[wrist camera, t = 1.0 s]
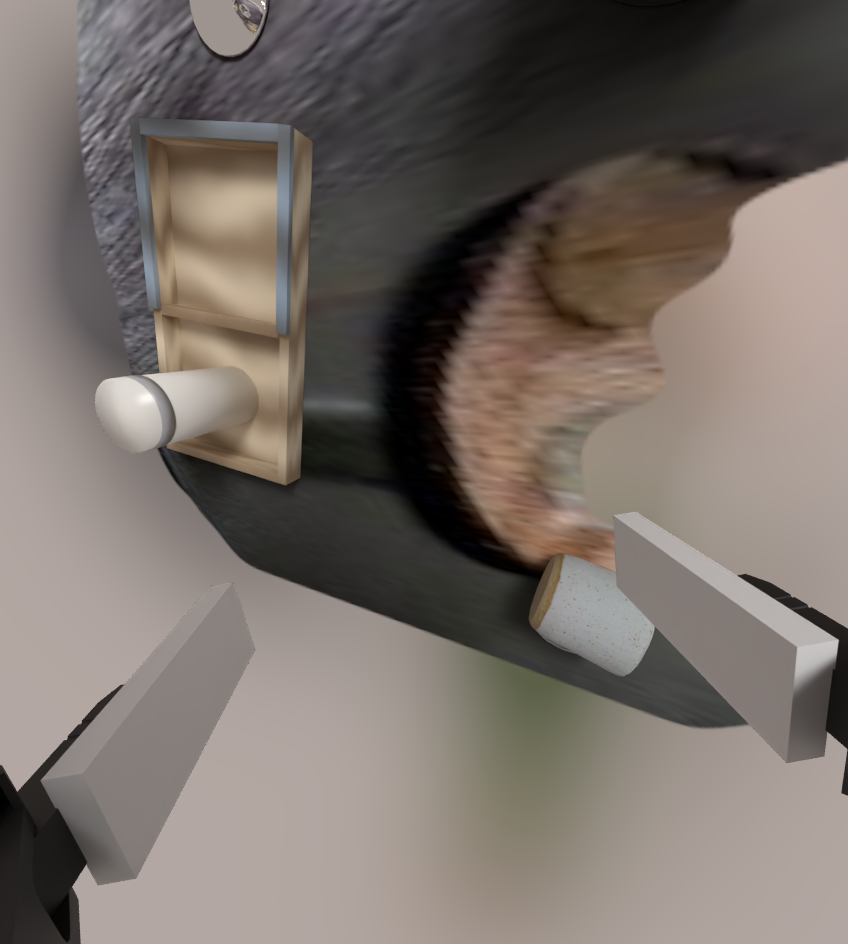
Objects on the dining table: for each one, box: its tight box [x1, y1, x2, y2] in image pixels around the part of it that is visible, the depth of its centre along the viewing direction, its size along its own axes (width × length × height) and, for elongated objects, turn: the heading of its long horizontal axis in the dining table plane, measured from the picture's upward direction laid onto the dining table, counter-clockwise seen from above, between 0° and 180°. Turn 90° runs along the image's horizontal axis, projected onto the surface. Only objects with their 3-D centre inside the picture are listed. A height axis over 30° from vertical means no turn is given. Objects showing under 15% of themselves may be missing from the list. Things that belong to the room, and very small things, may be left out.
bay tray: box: [129, 118, 313, 485], centre depth 39 cm, size 30×16×3 cm, turn 171°
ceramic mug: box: [529, 554, 655, 676], centre depth 34 cm, size 11×8×8 cm
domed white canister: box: [95, 366, 259, 453], centre depth 37 cm, size 6×6×12 cm
